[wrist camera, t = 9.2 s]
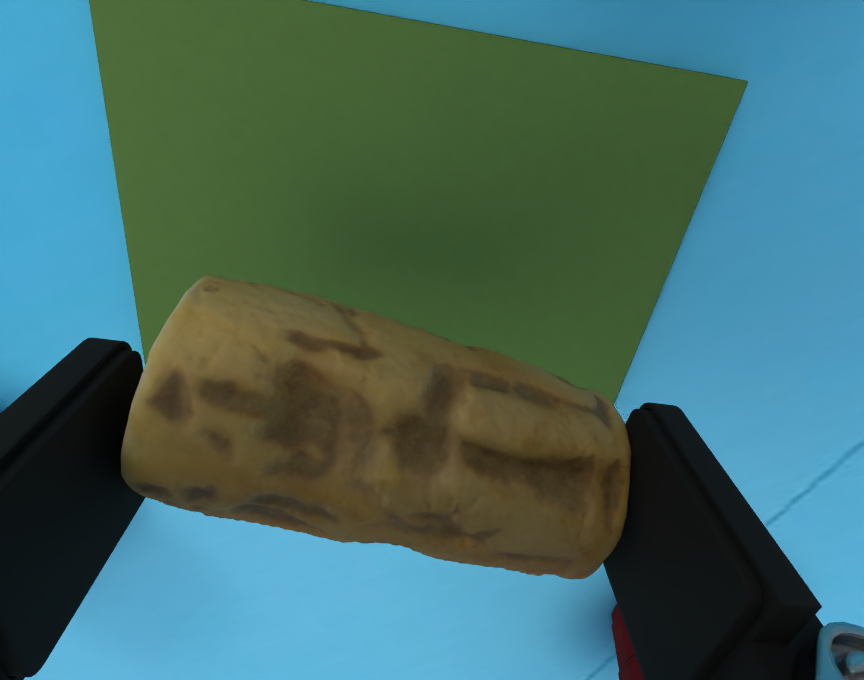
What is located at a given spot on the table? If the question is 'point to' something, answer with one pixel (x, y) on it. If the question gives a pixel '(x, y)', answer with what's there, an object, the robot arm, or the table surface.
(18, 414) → the robot arm
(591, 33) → the table surface
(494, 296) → the green mat
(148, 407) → the carved stone cylinder
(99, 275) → the table surface
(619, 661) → the plastic cup
